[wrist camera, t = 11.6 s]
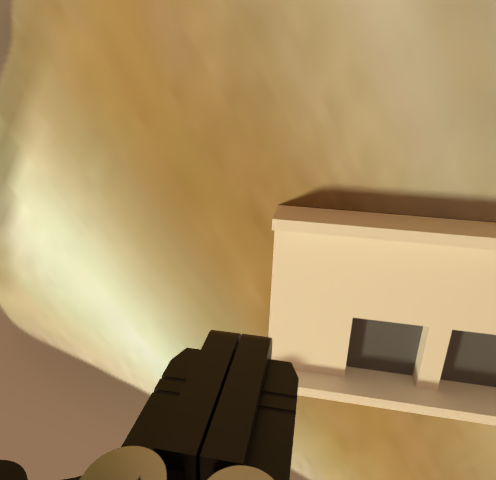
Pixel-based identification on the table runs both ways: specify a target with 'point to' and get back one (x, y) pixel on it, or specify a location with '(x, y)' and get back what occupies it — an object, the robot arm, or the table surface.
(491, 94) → the table surface
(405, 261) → the track
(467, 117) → the table surface
